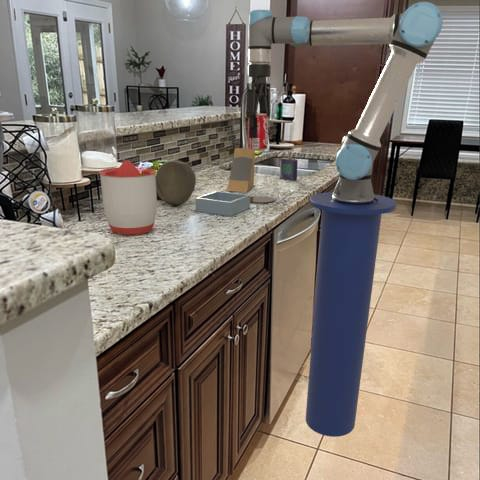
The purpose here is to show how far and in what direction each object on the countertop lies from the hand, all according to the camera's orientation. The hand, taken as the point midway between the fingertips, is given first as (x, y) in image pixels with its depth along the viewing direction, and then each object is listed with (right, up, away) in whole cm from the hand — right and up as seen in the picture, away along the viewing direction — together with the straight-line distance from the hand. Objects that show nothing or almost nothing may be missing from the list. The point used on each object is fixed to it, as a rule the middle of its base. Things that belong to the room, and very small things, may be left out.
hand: (258, 136), depth 175 cm
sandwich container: (-6, -11, +32) cm, 34 cm away
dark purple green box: (+16, -2, +52) cm, 54 cm away
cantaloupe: (-29, -23, +2) cm, 37 cm away
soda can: (0, -4, +2) cm, 5 cm away
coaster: (+1, -20, +11) cm, 23 cm away
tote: (-12, -26, -4) cm, 29 cm away
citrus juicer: (-37, -37, -28) cm, 60 cm away
